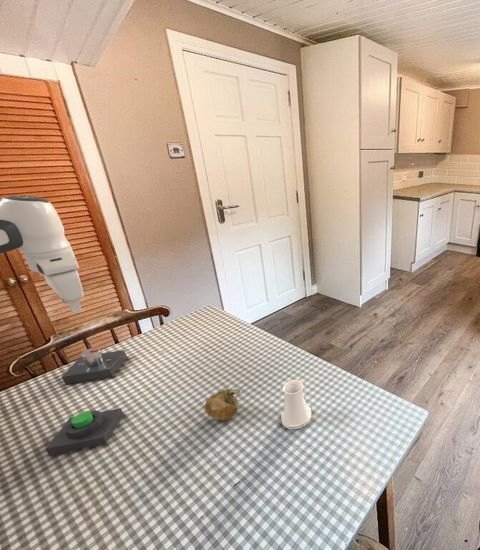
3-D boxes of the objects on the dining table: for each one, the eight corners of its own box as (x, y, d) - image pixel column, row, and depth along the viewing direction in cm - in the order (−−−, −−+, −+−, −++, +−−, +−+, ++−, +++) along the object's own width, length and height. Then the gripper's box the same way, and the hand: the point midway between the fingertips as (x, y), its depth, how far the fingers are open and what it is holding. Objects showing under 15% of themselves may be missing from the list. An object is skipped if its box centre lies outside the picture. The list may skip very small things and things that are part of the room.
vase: (317, 412, 79) (314, 382, 76) (298, 434, 73) (294, 402, 69) (295, 402, 83) (291, 372, 79) (275, 422, 76) (270, 391, 73)
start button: (70, 430, 70) (67, 424, 69) (79, 418, 73) (76, 412, 73) (88, 426, 71) (86, 421, 70) (96, 415, 74) (94, 409, 74)
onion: (223, 400, 83) (217, 377, 80) (247, 408, 81) (242, 384, 78) (201, 421, 77) (194, 397, 74) (226, 430, 74) (220, 406, 71)
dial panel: (65, 384, 89) (61, 376, 88) (84, 363, 98) (80, 355, 97) (112, 377, 92) (109, 368, 91) (127, 357, 101) (124, 349, 100)
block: (49, 455, 68) (41, 443, 67) (72, 424, 76) (66, 412, 75) (106, 443, 71) (100, 431, 69) (123, 414, 79) (118, 402, 77)
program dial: (82, 368, 91) (77, 356, 90) (90, 359, 95) (85, 347, 94) (99, 365, 93) (94, 353, 91) (106, 356, 96) (102, 345, 95)
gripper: (26, 255, 82) (47, 301, 87) (44, 271, 71) (66, 322, 76) (58, 249, 86) (75, 293, 92) (79, 263, 75) (98, 312, 81)
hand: (72, 306), depth 84 cm, fingers open, 8 cm apart
